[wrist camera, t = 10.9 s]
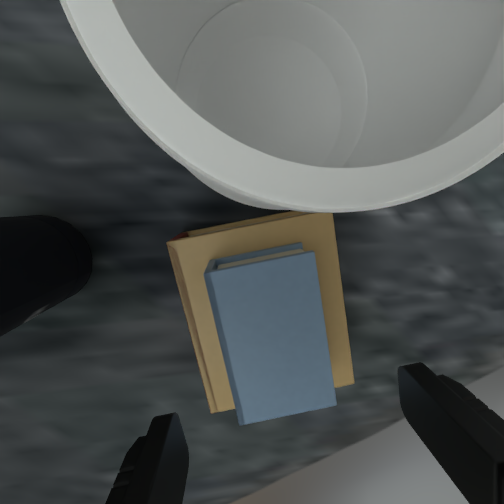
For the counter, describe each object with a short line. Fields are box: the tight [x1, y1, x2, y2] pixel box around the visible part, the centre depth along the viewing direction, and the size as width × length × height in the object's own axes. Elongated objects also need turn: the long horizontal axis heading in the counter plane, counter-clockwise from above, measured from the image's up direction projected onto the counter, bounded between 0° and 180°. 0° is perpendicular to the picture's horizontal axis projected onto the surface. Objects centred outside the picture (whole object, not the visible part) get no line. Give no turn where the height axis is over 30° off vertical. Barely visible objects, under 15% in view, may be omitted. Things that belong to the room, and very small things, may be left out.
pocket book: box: [203, 242, 337, 425], centre depth 16 cm, size 9×6×3 cm, turn 11°
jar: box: [60, 0, 504, 213], centre depth 12 cm, size 11×10×15 cm
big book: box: [166, 211, 354, 413], centre depth 19 cm, size 12×10×4 cm
